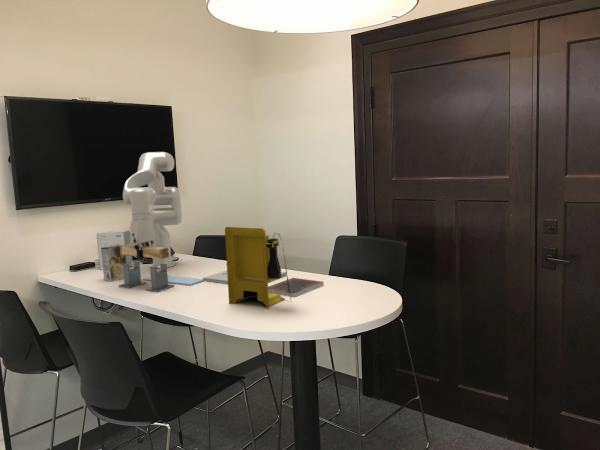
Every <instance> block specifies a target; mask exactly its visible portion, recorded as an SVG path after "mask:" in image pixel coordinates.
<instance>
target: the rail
mask: <svg viewBox="0 0 600 450" xmlns="http://www.w3.org/2000/svg"><path fill="white" fill-rule="evenodd" d="M138 246H139V244H138ZM141 250H143V258H150V259H151V258H152V259H153V258H159V259H164V258H167V257H169V250H168V248H162V247H151V246H145V245H142V248H141ZM120 255H130V256H132V257H137V250H135V248H134V247H133V246H131V245H129V244H125V245H121V246H120Z"/></svg>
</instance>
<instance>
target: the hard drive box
mask: <svg viewBox="0 0 600 450" xmlns="http://www.w3.org/2000/svg"><path fill="white" fill-rule="evenodd" d="M96 239H97V242H96V243H97V251H98V261H99V269H100V268H103V262H102V252H101V248H103V247H109V246H114V245H125V244H129V245H130V242H131V241H130V229H129V230H105V231H104V230H103V231H100V232H96ZM126 264H129V268H132V267H134V265H133V256H130V255H126ZM131 266H132V267H131Z"/></svg>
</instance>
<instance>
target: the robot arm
mask: <svg viewBox="0 0 600 450" xmlns="http://www.w3.org/2000/svg"><path fill="white" fill-rule="evenodd" d="M174 168H175V158H174V157H173V155H172V154H170V153H169V152H165V151H154V152H153V151H151V152H150V151H149V152H148V151H147V152H145V153H142V154H141V155H140V157H139V160H138V167H137V172H135V173H134V174H132V175H131V176H130V177H129V178H127V180H126V181H125V183H124V185H123V191H122V199H123V201H124V203H125V204H126V205H130V208H131V221H130V226H129V230H130V241H131V242H130V245H131V246H133V247H134V248H135V250H137V256H136V258H137V259H138V260H143V259H144V257H143V250H141V248H142V246H143V243H144V246H151V247H162V248H168V250H169V257H167V258H164V259H159V258H152V263H151V264H150V266H149V268H150V267H151V266H155V267H157V269H160V264H167V269H168V268H171V267H174V266H175V262H174V261H177V260H178V256H172V253H171V240H170V232H169V231H168V229H167V228H166V226H176V225H180V224H181V223H182V219H183V213H182V204H181V203H182V202H181V193H180V190H179V188H177V187H176V186H165V176H164V175H163V174H162V173H161V172H171V171H173V169H174ZM146 185H147V187H146ZM143 186H145V187H143ZM150 204H151V205H153V206H171V207H155V208H151V209H150ZM138 245H139V246H138Z"/></svg>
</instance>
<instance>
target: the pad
mask: <svg viewBox="0 0 600 450" xmlns="http://www.w3.org/2000/svg"><path fill="white" fill-rule="evenodd" d="M167 275H168V284H170V285H178V286H179V285H180V286H189V287H191V285H192V286H194V284H195V285H198V284H201V283H203V282H204V280H203V278H198V277H197V278H196V277H186V276H178V275H171V274H170V275H169V274H167ZM145 280H146V281H145ZM142 281H145V282H151V275H150V276H147V277H143V278H142Z"/></svg>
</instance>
